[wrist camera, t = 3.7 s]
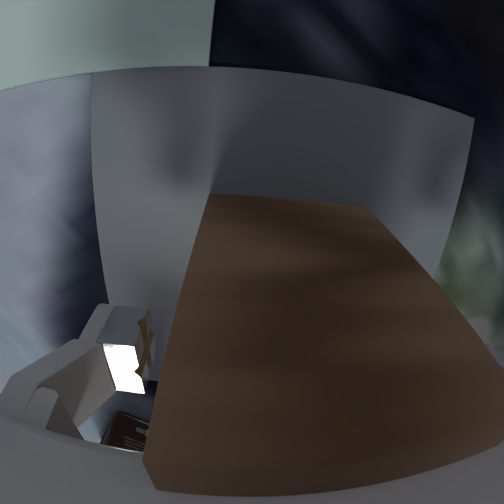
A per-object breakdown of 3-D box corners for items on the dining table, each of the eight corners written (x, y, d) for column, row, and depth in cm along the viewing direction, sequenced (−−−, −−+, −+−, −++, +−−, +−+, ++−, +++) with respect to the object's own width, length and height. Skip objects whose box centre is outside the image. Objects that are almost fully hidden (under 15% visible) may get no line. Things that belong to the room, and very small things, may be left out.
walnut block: (365, 206, 11) (528, 411, 3) (335, 326, 14) (395, 524, 6) (209, 193, 11) (141, 460, 3) (206, 322, 13) (186, 542, 5)
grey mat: (473, 117, 10) (475, 118, 9) (386, 381, 16) (387, 382, 16) (93, 72, 9) (91, 72, 8) (127, 375, 15) (126, 377, 15)
